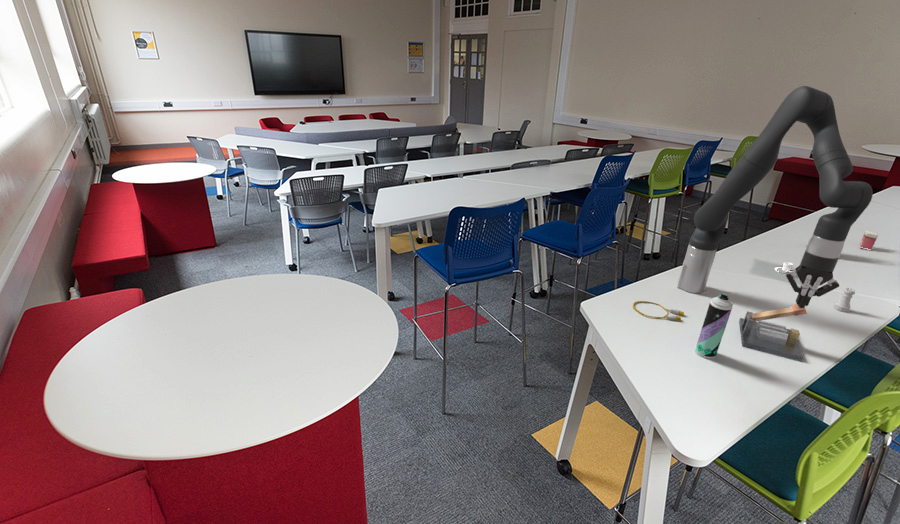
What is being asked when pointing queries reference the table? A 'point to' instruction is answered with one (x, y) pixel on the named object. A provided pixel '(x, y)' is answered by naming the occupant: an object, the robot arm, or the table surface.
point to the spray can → (714, 326)
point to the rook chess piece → (845, 300)
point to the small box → (868, 239)
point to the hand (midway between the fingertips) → (800, 305)
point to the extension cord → (673, 318)
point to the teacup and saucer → (785, 267)
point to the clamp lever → (777, 313)
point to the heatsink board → (770, 345)
